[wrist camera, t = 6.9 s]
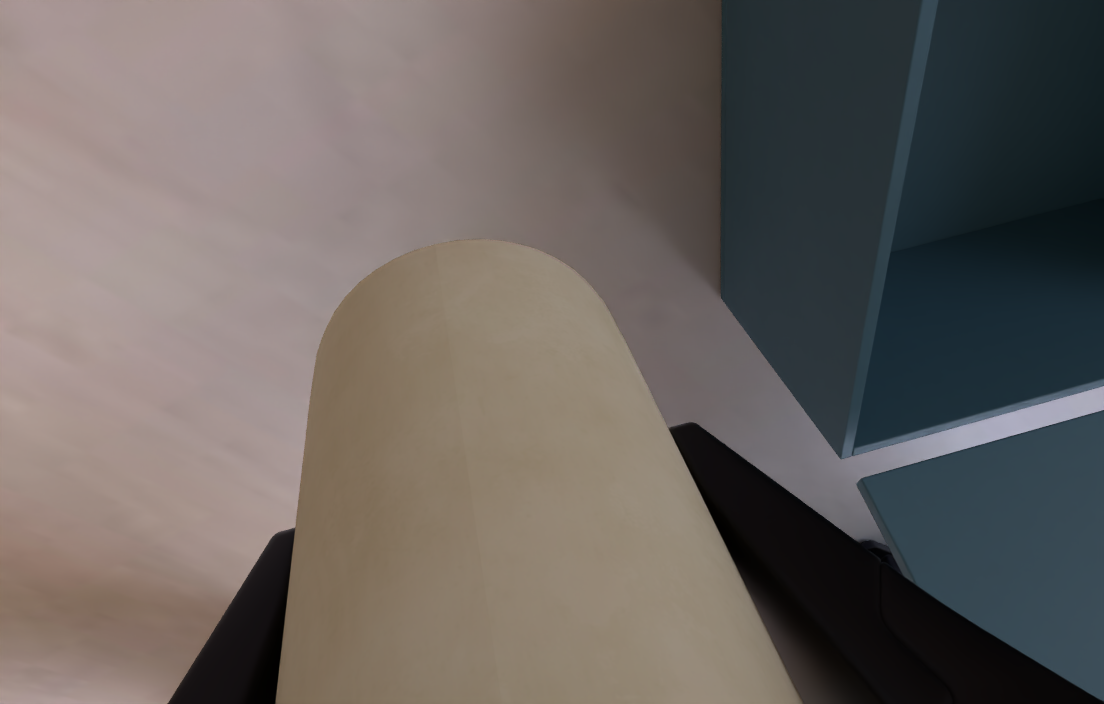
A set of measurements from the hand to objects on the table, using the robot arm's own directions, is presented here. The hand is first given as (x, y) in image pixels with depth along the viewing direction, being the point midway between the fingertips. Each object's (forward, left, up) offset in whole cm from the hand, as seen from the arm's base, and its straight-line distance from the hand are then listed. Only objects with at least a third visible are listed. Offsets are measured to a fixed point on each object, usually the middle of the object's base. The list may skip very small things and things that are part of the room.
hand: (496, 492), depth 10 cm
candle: (0, 0, -3) cm, 3 cm away
